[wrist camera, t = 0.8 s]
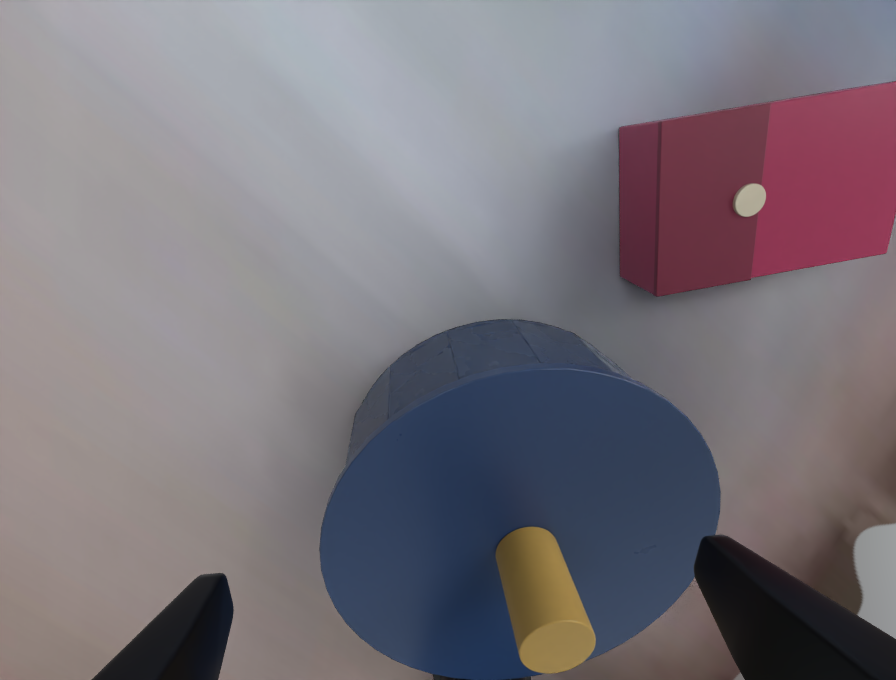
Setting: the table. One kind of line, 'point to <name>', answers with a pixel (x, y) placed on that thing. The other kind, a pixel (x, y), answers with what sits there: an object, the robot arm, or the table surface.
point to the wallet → (757, 189)
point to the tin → (468, 364)
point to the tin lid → (518, 521)
